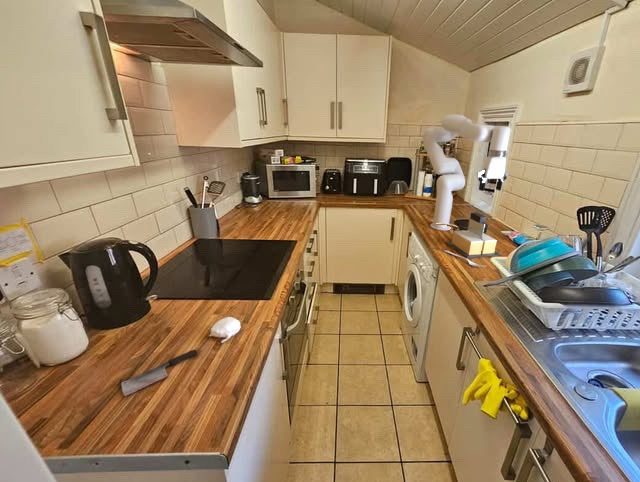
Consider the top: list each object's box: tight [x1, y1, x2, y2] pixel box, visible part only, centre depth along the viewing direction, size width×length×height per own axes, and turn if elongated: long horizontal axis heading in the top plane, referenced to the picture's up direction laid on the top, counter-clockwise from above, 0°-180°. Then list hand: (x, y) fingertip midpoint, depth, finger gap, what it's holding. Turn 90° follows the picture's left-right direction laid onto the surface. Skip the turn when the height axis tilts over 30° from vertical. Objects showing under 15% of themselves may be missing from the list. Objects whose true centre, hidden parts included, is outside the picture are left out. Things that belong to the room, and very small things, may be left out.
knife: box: [467, 212, 487, 238], centre depth 147 cm, size 12×3×10 cm, turn 14°
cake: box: [445, 229, 501, 259], centre depth 151 cm, size 20×18×7 cm
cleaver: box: [120, 348, 198, 397], centre depth 72 cm, size 16×1×5 cm
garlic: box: [208, 316, 241, 344], centre depth 86 cm, size 8×7×4 cm
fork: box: [443, 249, 487, 268], centre depth 139 cm, size 3×24×2 cm, turn 30°
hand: (489, 190), depth 149 cm, fingers open, 9 cm apart
